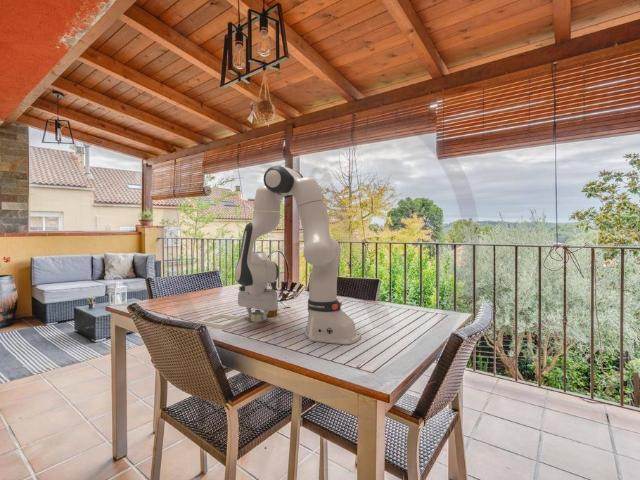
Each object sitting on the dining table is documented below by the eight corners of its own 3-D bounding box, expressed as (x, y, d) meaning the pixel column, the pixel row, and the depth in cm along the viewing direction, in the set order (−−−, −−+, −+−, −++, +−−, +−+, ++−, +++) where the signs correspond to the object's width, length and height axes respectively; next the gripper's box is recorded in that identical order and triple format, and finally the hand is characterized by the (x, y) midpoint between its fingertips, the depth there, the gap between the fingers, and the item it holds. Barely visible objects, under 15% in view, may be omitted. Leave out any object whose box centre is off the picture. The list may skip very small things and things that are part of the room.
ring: (267, 319, 157) (267, 312, 157) (258, 322, 152) (258, 315, 152) (256, 317, 160) (256, 311, 160) (248, 320, 155) (248, 314, 155)
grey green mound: (271, 320, 158) (271, 309, 158) (259, 325, 150) (259, 313, 150) (255, 318, 162) (255, 307, 162) (243, 322, 154) (243, 311, 154)
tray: (244, 322, 154) (244, 317, 154) (222, 330, 142) (222, 325, 142) (221, 318, 161) (221, 313, 161) (198, 326, 148) (197, 320, 148)
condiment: (264, 319, 160) (264, 293, 159) (261, 315, 168) (261, 290, 167) (279, 318, 162) (279, 293, 161) (276, 314, 170) (276, 289, 170)
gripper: (280, 288, 153) (280, 319, 154) (244, 284, 163) (244, 313, 163) (272, 291, 148) (272, 323, 148) (235, 286, 157) (235, 316, 158)
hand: (257, 318), depth 156 cm, fingers closed on ring, 6 cm apart
